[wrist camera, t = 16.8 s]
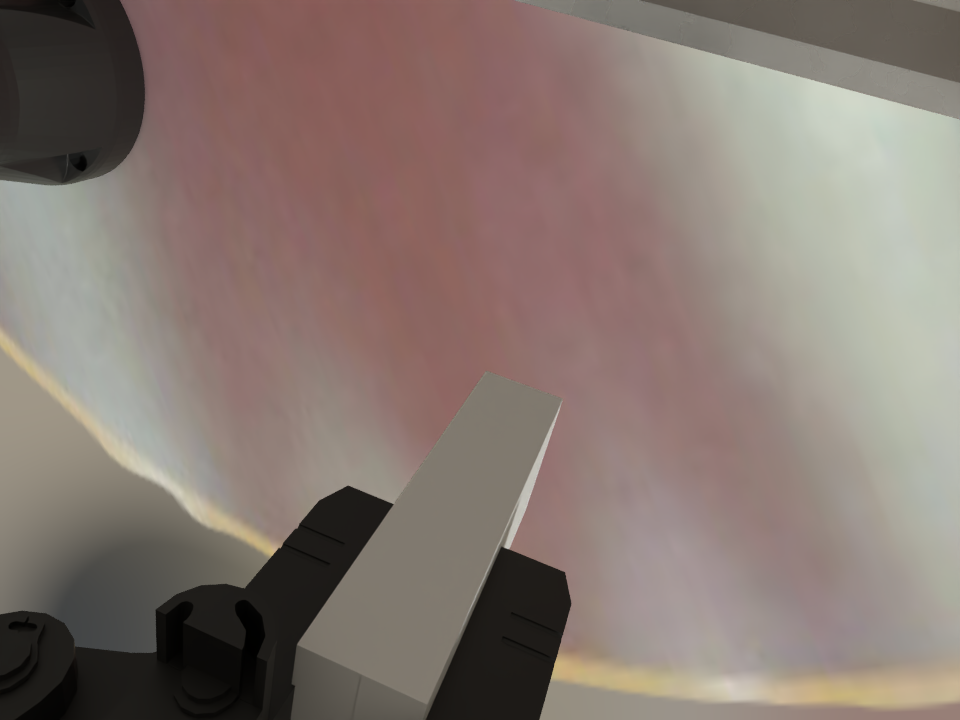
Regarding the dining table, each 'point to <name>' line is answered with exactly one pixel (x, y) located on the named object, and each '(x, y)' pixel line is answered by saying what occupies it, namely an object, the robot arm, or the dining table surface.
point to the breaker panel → (811, 39)
